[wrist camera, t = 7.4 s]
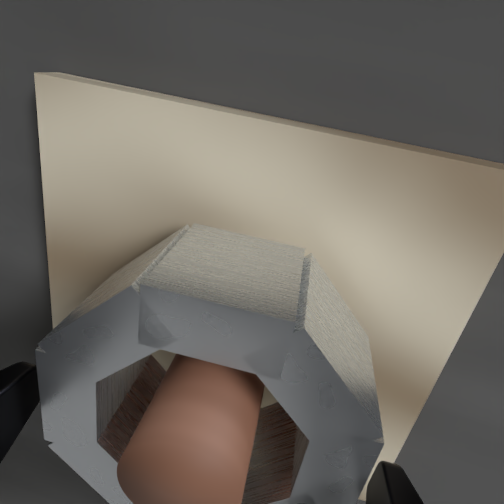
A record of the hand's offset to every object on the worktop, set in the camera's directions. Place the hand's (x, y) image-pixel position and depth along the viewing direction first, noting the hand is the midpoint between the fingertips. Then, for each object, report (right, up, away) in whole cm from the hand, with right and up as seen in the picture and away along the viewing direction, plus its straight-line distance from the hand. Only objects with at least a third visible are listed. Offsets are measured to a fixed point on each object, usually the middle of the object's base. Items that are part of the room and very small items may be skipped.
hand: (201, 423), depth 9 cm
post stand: (+1, +2, +4) cm, 4 cm away
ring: (0, +1, +2) cm, 2 cm away
